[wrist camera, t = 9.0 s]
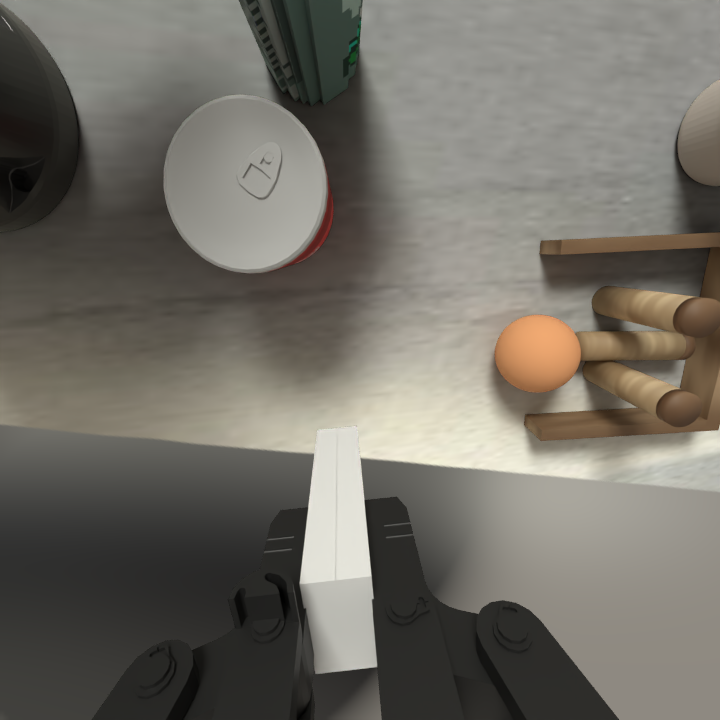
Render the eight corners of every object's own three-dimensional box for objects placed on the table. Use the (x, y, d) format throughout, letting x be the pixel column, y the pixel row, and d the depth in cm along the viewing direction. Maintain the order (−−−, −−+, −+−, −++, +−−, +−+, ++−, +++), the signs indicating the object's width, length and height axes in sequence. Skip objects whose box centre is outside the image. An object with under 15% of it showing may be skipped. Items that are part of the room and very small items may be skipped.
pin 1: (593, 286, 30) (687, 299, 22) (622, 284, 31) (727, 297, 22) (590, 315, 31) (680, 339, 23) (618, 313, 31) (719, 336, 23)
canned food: (348, 177, 27) (351, 132, 17) (313, 280, 30) (296, 297, 19) (247, 135, 26) (183, 59, 16) (219, 244, 28) (145, 241, 18)
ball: (575, 307, 30) (495, 307, 31) (596, 326, 24) (499, 324, 26) (566, 377, 32) (491, 373, 33) (584, 409, 26) (493, 402, 28)
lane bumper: (540, 240, 29) (562, 239, 26) (728, 231, 30) (769, 230, 27) (524, 424, 34) (540, 440, 31) (686, 414, 34) (718, 430, 31)
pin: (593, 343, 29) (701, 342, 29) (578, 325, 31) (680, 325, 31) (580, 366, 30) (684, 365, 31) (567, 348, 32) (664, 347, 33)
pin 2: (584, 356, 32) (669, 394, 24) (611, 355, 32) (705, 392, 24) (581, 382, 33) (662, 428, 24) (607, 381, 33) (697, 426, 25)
